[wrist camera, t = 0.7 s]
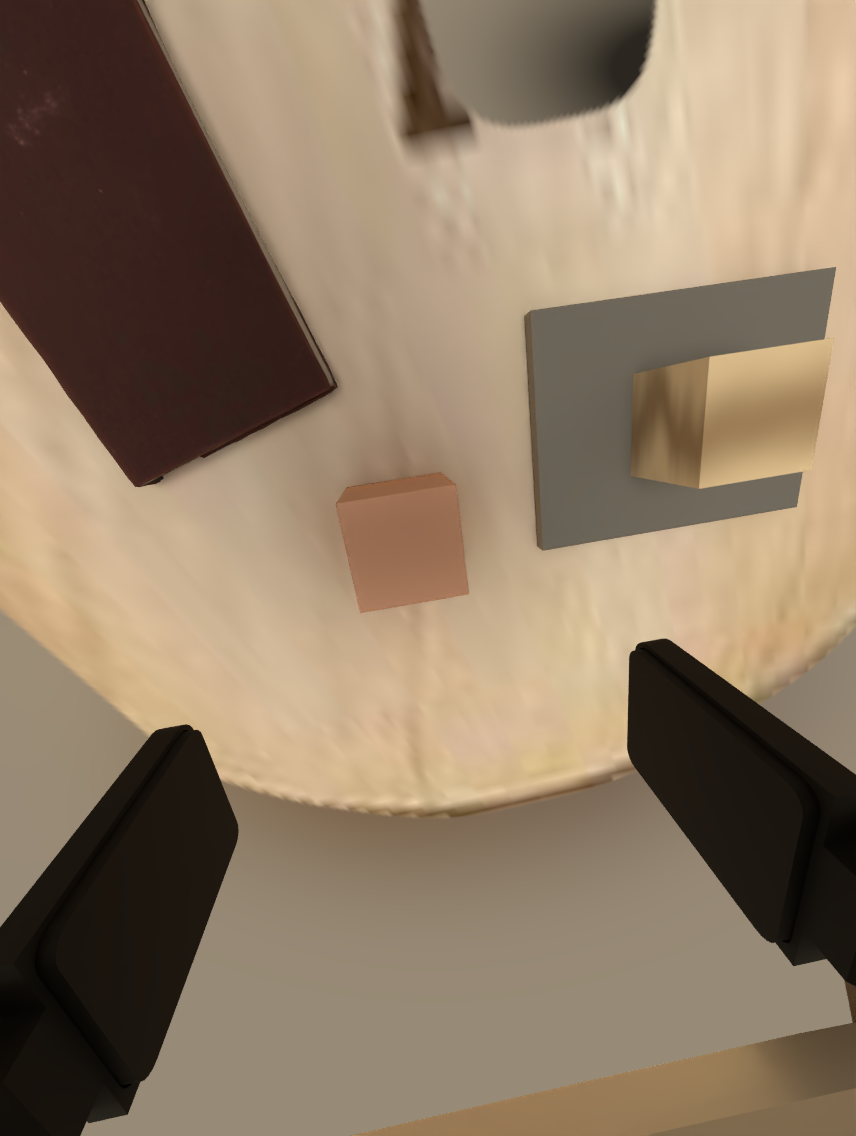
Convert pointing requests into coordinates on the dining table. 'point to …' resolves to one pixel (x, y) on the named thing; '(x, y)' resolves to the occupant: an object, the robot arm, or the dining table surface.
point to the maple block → (730, 416)
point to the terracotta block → (403, 541)
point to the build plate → (605, 389)
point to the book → (136, 244)
